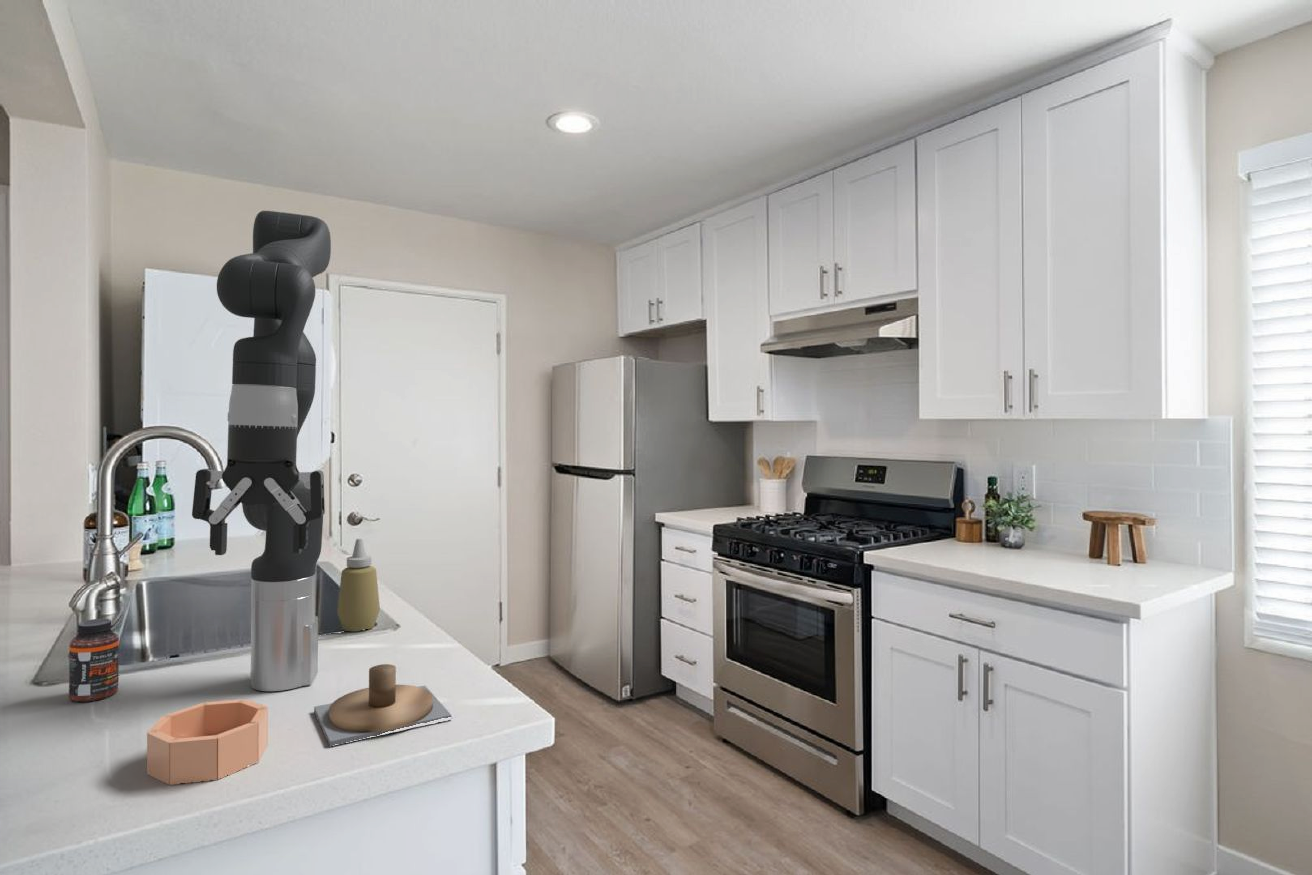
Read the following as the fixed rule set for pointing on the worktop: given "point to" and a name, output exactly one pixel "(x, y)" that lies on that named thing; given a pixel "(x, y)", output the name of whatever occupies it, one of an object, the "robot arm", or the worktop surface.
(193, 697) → the worktop surface
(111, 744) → the worktop surface
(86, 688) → the supplement bottle
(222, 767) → the bowl
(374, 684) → the lid
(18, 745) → the worktop surface
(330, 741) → the mat
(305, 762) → the worktop surface
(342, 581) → the squeeze bottle
